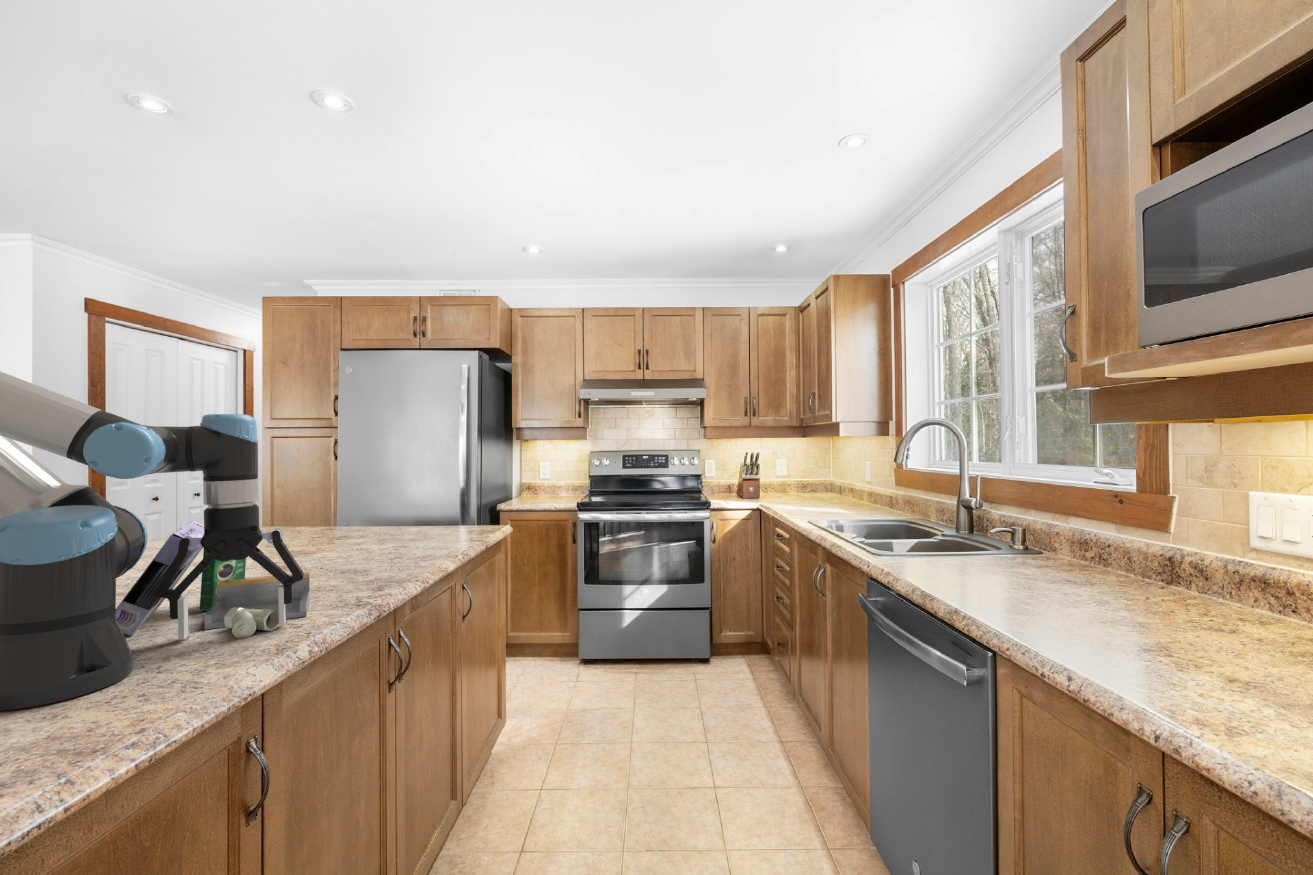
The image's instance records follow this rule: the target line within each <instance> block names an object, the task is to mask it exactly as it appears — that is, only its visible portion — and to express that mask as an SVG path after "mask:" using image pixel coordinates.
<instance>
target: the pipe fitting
mask: <svg viewBox="0 0 1313 875" xmlns="http://www.w3.org/2000/svg"><path fill="white" fill-rule="evenodd" d="M224 623H225V627H224V628H226V629H231V634H232V635H233V636H234V637H235V638H237V639H241V638H248V637H251V636H252V635H254V634H255V632H256V630H259V631H265V632H266V631H268V632H269V631H270V632H272V631H274V630H276V629H277V628H278V626H280V625H279V611H277V610H272V609H264V610H258V609H244V608H237V607H233V608H232V609H231V610H229V611H228V613H227V614H226V615H225V617H224Z"/></svg>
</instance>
